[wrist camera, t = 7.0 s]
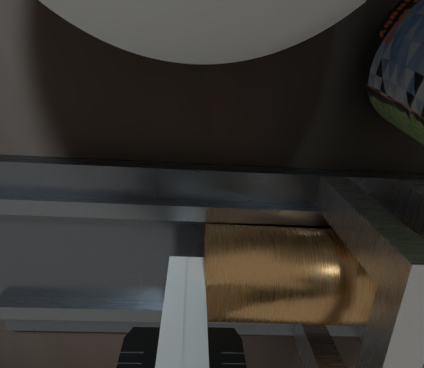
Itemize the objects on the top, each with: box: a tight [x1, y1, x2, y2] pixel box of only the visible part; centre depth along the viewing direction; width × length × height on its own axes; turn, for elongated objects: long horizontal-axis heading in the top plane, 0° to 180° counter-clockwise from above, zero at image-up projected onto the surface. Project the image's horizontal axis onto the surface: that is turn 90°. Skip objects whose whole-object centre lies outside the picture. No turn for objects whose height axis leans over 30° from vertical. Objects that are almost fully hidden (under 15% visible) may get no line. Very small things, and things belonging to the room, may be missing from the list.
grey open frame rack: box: [0, 155, 424, 337], centre depth 17 cm, size 9×23×2 cm, turn 87°
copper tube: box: [203, 224, 424, 326], centre depth 15 cm, size 12×4×4 cm, turn 86°
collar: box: [293, 176, 424, 368], centre depth 14 cm, size 9×1×7 cm, turn 177°
